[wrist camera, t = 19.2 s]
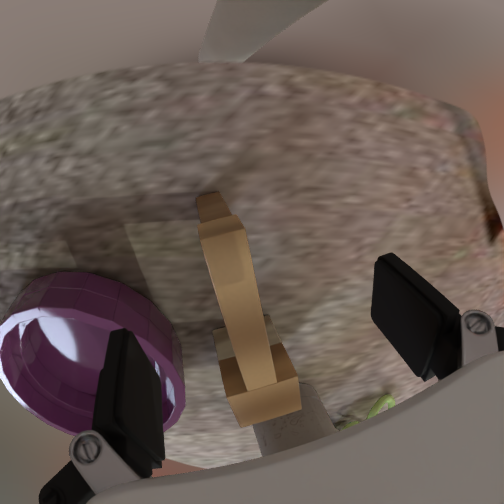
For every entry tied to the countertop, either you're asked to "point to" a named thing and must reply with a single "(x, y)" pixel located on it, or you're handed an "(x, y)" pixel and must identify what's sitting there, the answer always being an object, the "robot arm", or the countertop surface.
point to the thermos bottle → (295, 425)
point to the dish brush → (244, 322)
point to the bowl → (81, 346)
